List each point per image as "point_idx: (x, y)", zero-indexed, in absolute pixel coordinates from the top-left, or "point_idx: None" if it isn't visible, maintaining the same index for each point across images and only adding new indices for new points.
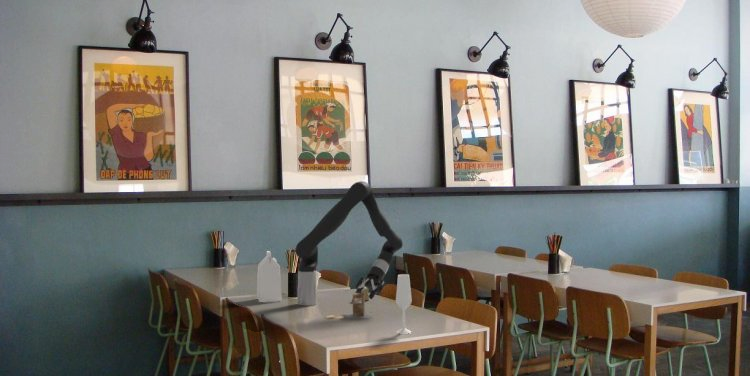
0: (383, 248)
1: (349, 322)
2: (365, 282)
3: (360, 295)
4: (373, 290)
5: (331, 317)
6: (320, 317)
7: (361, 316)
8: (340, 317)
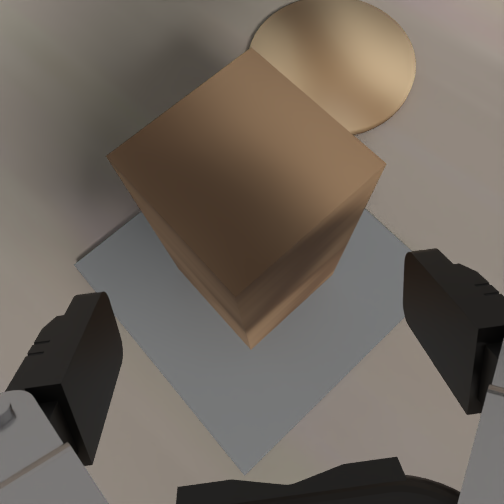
0: None
1: (103, 53)
2: (470, 495)
3: (150, 132)
4: (23, 402)
5: (327, 38)
6: (428, 18)
7: None
8: None
